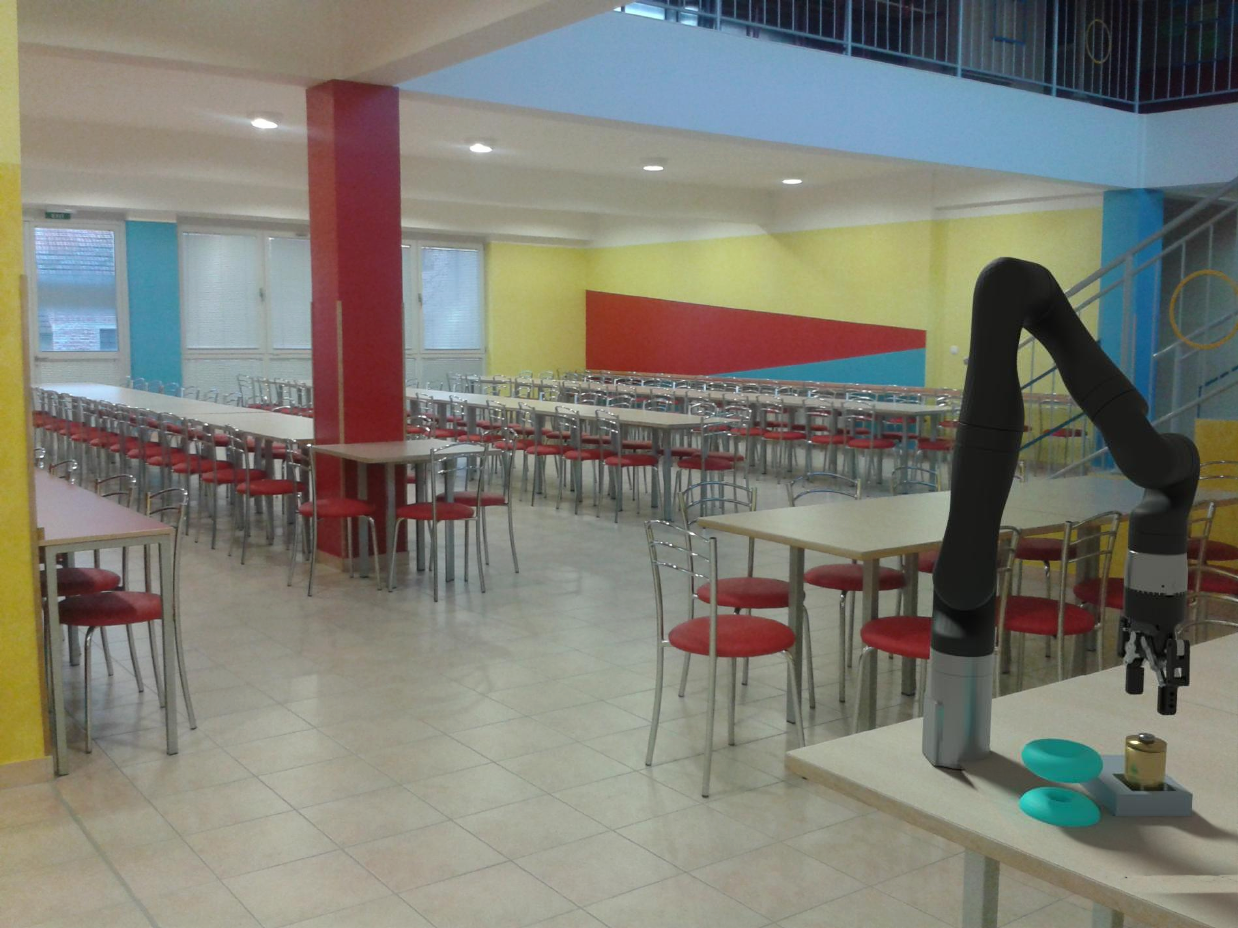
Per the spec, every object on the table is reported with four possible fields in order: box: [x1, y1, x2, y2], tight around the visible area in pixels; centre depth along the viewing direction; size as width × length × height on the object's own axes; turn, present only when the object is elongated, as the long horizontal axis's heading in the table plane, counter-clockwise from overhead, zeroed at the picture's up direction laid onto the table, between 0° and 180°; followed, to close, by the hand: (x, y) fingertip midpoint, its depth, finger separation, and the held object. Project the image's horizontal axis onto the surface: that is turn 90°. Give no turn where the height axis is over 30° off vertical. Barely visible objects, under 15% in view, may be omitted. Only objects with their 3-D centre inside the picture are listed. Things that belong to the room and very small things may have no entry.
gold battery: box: [1123, 732, 1168, 791], centre depth 148 cm, size 5×5×10 cm
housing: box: [1078, 754, 1194, 818], centre depth 152 cm, size 10×14×4 cm
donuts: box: [1018, 738, 1103, 828], centre depth 146 cm, size 10×10×10 cm
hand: (1150, 703), depth 147 cm, fingers open, 8 cm apart
